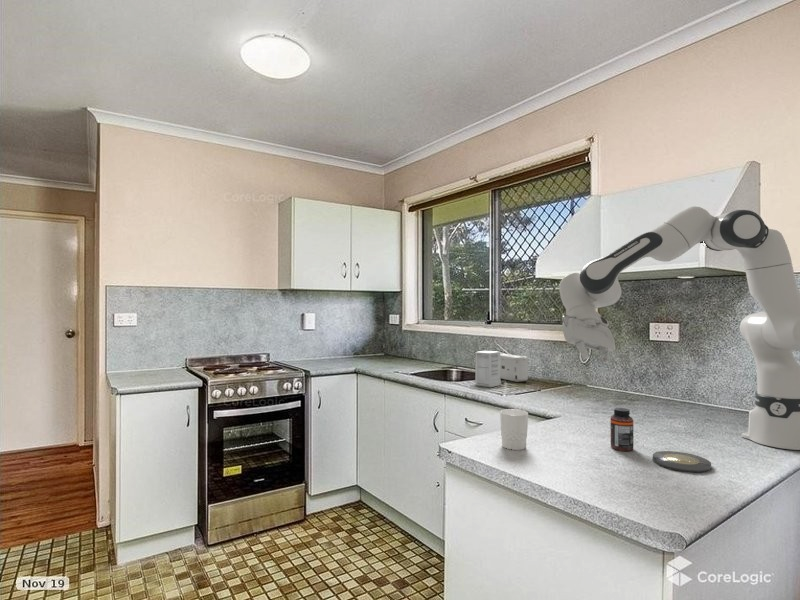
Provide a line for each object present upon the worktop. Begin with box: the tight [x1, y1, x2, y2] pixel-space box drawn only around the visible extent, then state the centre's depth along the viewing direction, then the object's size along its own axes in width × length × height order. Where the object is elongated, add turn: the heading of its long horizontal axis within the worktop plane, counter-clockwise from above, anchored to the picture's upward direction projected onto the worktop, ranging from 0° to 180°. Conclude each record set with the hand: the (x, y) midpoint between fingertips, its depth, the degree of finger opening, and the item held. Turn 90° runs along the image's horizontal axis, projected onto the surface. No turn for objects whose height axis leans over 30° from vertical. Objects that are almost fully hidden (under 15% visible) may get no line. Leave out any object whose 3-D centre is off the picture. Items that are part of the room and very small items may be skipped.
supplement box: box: [474, 350, 502, 388], centre depth 235 cm, size 10×9×17 cm
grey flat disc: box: [652, 450, 712, 474], centre depth 121 cm, size 13×13×1 cm
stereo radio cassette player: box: [493, 340, 529, 383], centre depth 253 cm, size 21×8×20 cm, turn 30°
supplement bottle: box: [610, 407, 634, 452], centre depth 134 cm, size 6×6×11 cm
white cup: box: [499, 408, 529, 451], centre depth 136 cm, size 8×8×10 cm
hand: (596, 360), depth 141 cm, fingers open, 8 cm apart
